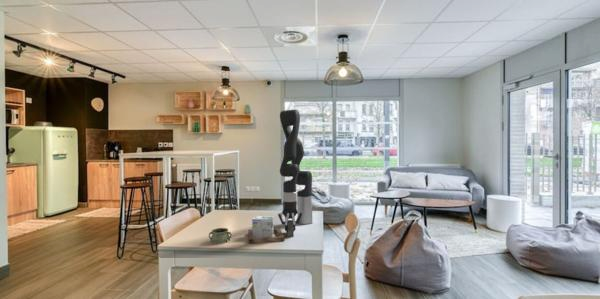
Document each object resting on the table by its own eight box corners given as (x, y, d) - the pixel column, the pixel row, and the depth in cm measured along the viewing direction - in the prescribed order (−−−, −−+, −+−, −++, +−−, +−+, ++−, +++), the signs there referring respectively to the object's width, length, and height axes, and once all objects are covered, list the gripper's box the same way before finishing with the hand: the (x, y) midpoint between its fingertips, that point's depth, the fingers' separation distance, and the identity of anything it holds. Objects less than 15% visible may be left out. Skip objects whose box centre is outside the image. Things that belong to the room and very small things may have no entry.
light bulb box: (273, 235, 174) (273, 215, 174) (271, 238, 168) (271, 218, 168) (254, 235, 175) (254, 215, 175) (252, 238, 168) (251, 218, 168)
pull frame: (290, 231, 182) (290, 217, 182) (295, 240, 164) (295, 225, 164) (248, 233, 177) (248, 219, 177) (249, 243, 159) (249, 227, 159)
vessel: (233, 239, 168) (233, 227, 168) (229, 244, 159) (229, 232, 159) (211, 239, 168) (211, 227, 168) (206, 244, 159) (205, 232, 159)
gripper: (301, 198, 177) (301, 228, 178) (276, 199, 175) (276, 230, 175) (303, 200, 170) (303, 232, 170) (277, 201, 167) (278, 234, 168)
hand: (290, 231), depth 173 cm, fingers closed on pull frame, 3 cm apart
